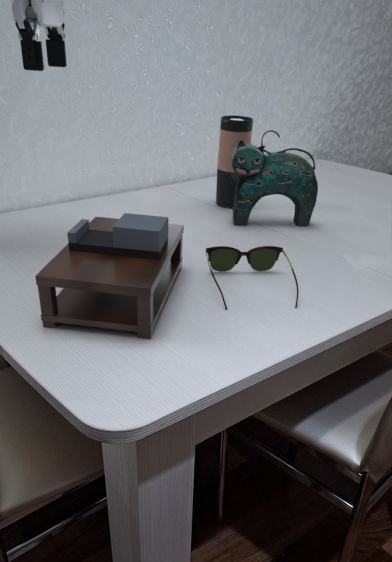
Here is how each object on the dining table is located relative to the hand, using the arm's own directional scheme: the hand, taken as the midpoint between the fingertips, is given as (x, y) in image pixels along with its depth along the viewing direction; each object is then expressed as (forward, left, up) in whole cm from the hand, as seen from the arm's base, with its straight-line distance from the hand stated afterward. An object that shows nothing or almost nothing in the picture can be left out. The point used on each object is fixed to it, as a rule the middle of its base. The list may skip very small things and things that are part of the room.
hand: (46, 68), depth 83 cm
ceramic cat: (+40, +24, -31) cm, 56 cm away
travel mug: (+30, +36, -31) cm, 56 cm away
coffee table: (+17, -19, -30) cm, 40 cm away
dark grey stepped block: (+17, -19, -22) cm, 34 cm away
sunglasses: (+38, -12, -31) cm, 50 cm away
